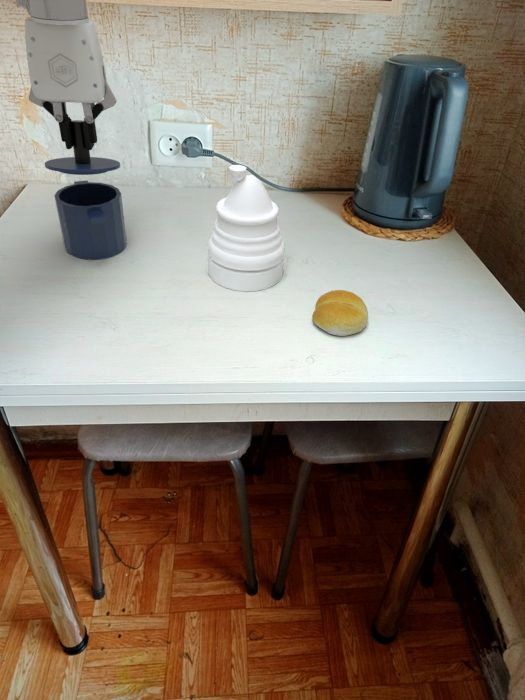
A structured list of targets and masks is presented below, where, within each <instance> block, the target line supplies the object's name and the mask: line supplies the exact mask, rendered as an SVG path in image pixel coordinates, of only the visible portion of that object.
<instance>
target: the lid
mask: <svg viewBox="0 0 525 700" xmlns="http://www.w3.org/2000/svg"><path fill="white" fill-rule="evenodd" d="M71 120H72V119H71ZM83 123H84V120H82V119H81V120H80V119H79V120H77V119H75V120H74V119H73V120H72V121H70V125H71V133H72V141H73V147H72V149H73V156H68V157H59V158H52V159H48V160H47V161H45V162H44V168H45V169H46V170H50V171H53V172H58V173H61V174H66V175H74V176H75V175H76V176H90V175H99V174H100V175H101V174H105V173H108V172H112V171H116V170H119V169H120V168H121V162H120V161H119V160H116V159H112V158H107V157H96V156H91V150H88V149H86V144H85V138H84V132H83Z"/></svg>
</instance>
